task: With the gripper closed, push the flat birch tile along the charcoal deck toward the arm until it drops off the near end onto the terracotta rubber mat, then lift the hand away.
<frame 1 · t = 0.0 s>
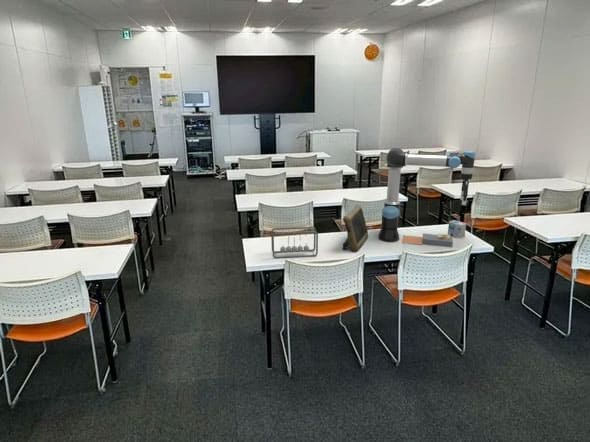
hand: (463, 202, 285), 28 cm above the table, tool pointing down, fingers open, 13 cm apart
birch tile: (443, 238, 285), point 4 cm above the table, touching deck
tablet: (355, 244, 287), on the table
newton's cradle: (294, 254, 268), on the table
deck: (436, 242, 287), on the table
mat: (412, 240, 292), on the table
light bulb box: (455, 236, 300), on the table
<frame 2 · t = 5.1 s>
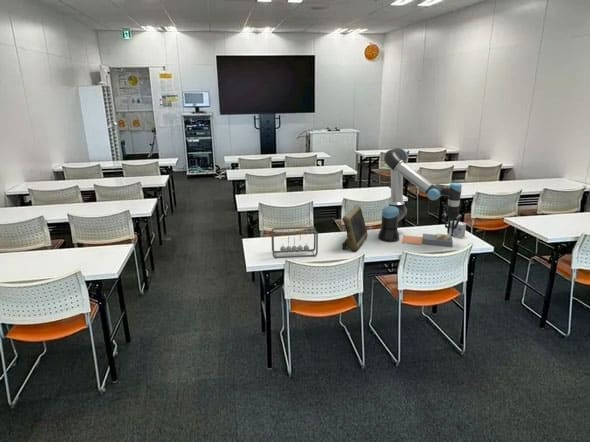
hand: (449, 237, 283), 5 cm above the table, tool pointing down, fingers closed
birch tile: (442, 238, 285), point 4 cm above the table, touching gripper
everything else where it was.
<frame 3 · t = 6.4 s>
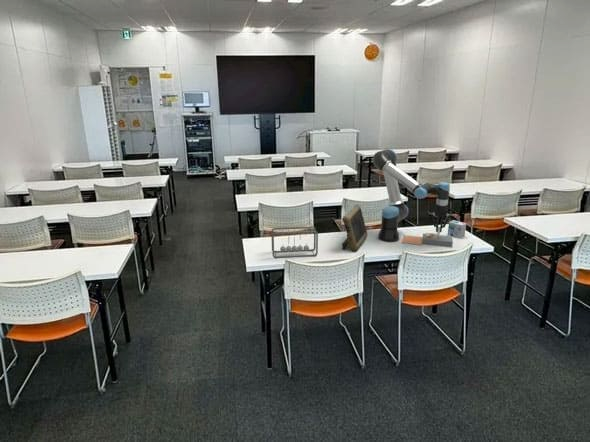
hand: (438, 236, 286), 5 cm above the table, tool pointing down, fingers closed
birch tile: (431, 236, 287), point 4 cm above the table, touching gripper
everything else where it was.
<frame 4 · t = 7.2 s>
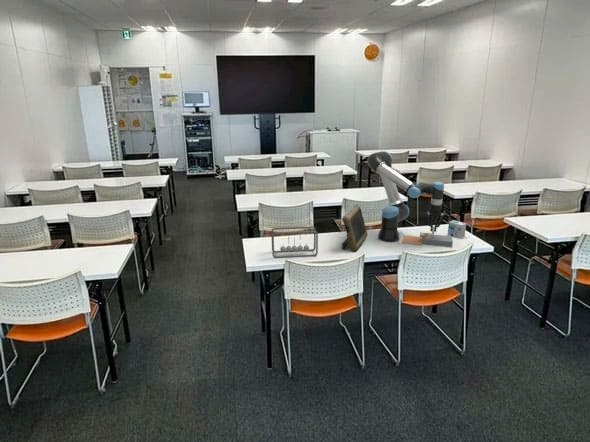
hand: (432, 235, 287), 5 cm above the table, tool pointing down, fingers closed
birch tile: (425, 236, 288), point 4 cm above the table, touching deck, gripper
everything else where it was.
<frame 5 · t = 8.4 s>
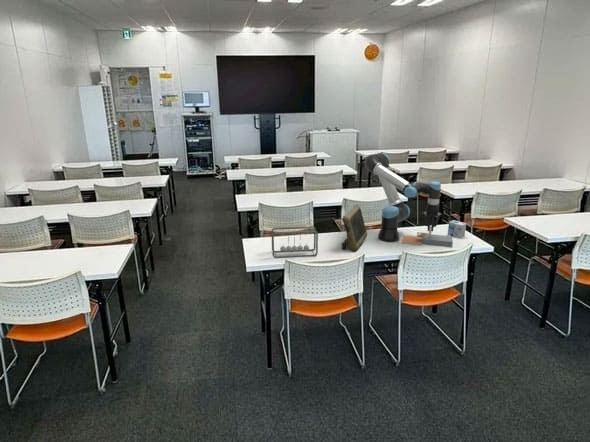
hand: (429, 235, 287), 5 cm above the table, tool pointing down, fingers closed
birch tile: (422, 236, 289), point 4 cm above the table
everything else where it was.
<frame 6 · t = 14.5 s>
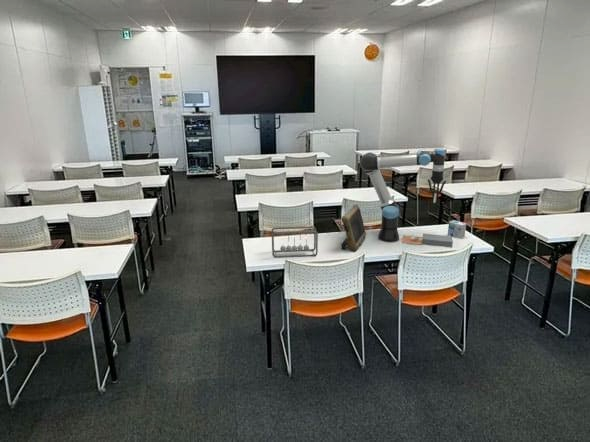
hand: (434, 202, 292), 26 cm above the table, tool pointing down, fingers closed
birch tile: (416, 240, 291), resting on mat
at the end: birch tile inside the target area (2.9 cm from its centre), point 0.5 cm above the table; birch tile moved 18.4 cm from its start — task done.
